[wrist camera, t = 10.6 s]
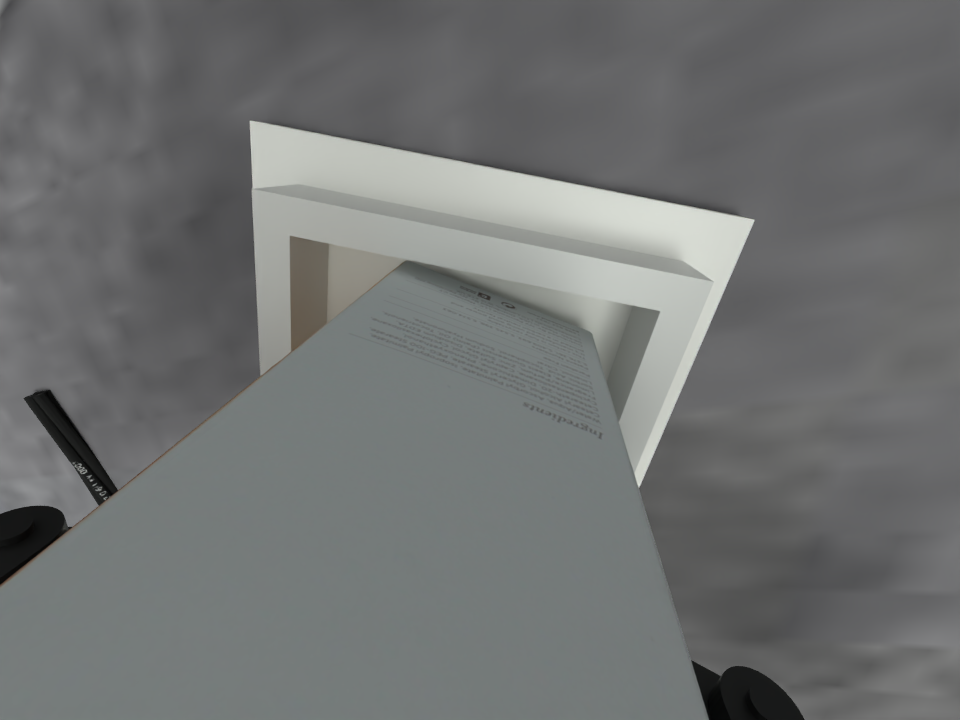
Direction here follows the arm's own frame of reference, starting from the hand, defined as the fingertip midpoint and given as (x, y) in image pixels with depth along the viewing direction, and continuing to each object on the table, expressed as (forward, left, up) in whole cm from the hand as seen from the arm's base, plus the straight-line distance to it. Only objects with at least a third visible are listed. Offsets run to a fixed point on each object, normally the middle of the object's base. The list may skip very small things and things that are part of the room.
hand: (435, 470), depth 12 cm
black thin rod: (+11, -16, -6) cm, 20 cm away
